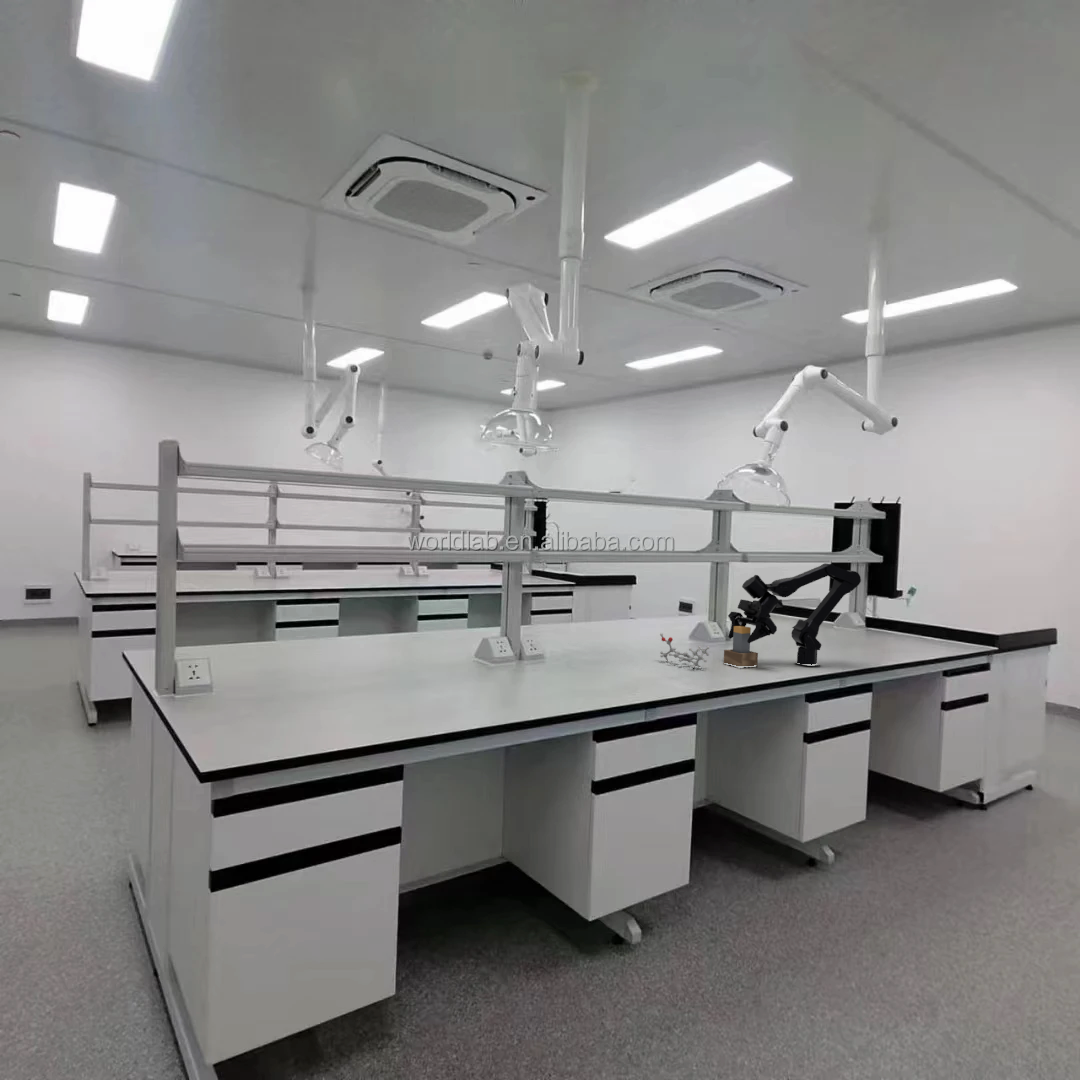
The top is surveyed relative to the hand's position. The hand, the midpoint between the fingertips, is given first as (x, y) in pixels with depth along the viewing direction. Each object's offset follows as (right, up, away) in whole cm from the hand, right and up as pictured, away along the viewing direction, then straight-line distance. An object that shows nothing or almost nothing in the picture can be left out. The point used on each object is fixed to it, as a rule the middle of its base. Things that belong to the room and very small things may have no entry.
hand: (738, 640), depth 238 cm
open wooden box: (+1, -9, +1) cm, 9 cm away
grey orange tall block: (+1, -9, +1) cm, 9 cm away
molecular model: (-20, -9, -3) cm, 22 cm away
